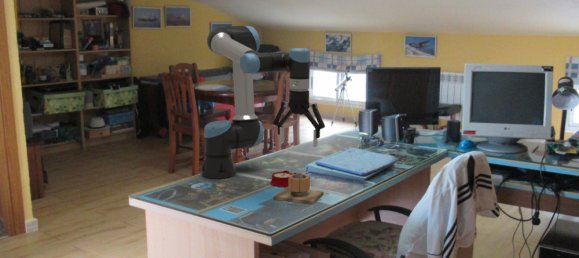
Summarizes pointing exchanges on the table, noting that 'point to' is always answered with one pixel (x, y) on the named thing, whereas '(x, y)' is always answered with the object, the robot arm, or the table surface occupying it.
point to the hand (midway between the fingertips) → (298, 144)
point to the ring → (299, 183)
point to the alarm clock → (280, 179)
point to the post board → (300, 199)
